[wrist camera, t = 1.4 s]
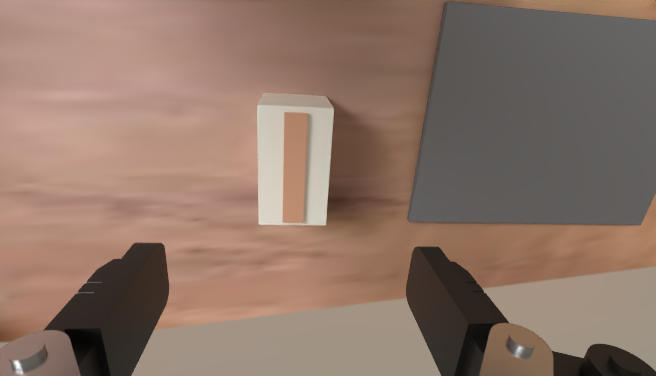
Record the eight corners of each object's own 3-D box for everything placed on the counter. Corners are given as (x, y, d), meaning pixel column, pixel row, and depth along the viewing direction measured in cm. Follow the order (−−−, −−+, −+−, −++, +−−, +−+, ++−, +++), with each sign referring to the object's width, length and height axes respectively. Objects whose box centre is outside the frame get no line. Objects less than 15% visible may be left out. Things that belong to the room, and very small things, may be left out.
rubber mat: (444, 2, 21) (448, 1, 21) (723, 27, 24) (732, 27, 23) (407, 218, 27) (409, 222, 26) (635, 222, 29) (640, 224, 29)
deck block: (264, 92, 22) (256, 105, 17) (325, 95, 23) (334, 109, 18) (264, 191, 25) (258, 227, 20) (319, 192, 25) (326, 227, 21)
